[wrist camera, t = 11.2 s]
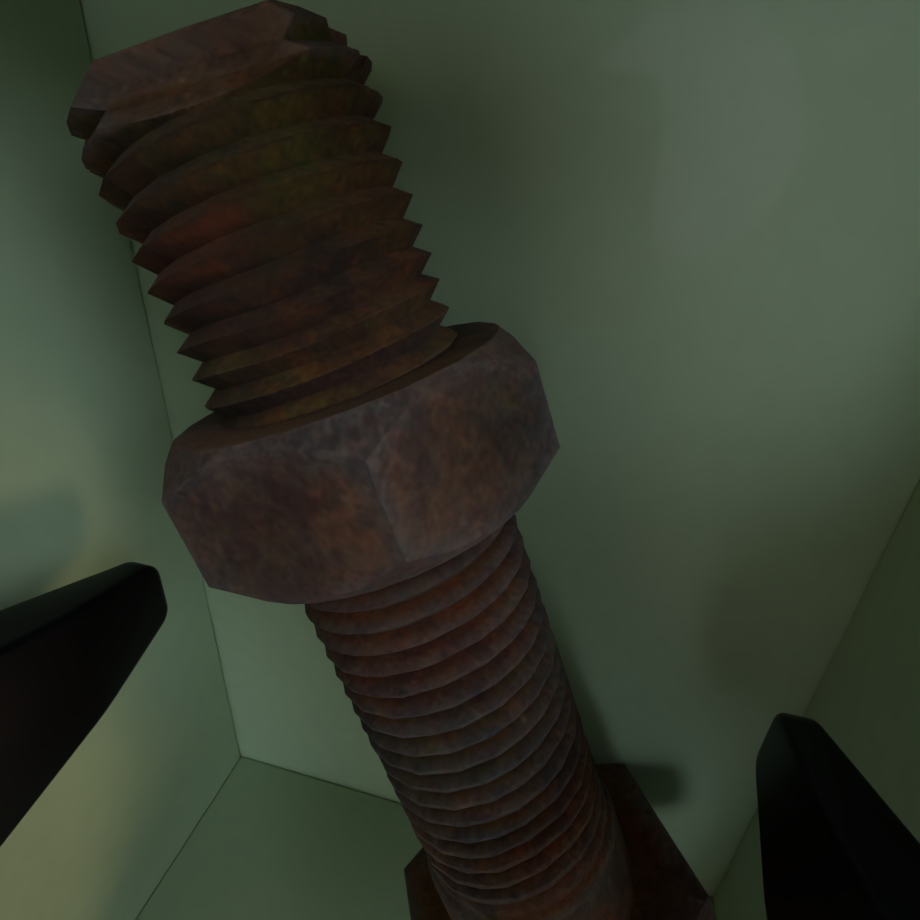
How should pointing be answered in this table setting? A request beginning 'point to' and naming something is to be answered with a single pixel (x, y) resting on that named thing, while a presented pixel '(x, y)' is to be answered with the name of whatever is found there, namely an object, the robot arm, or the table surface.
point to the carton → (573, 414)
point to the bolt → (367, 458)
